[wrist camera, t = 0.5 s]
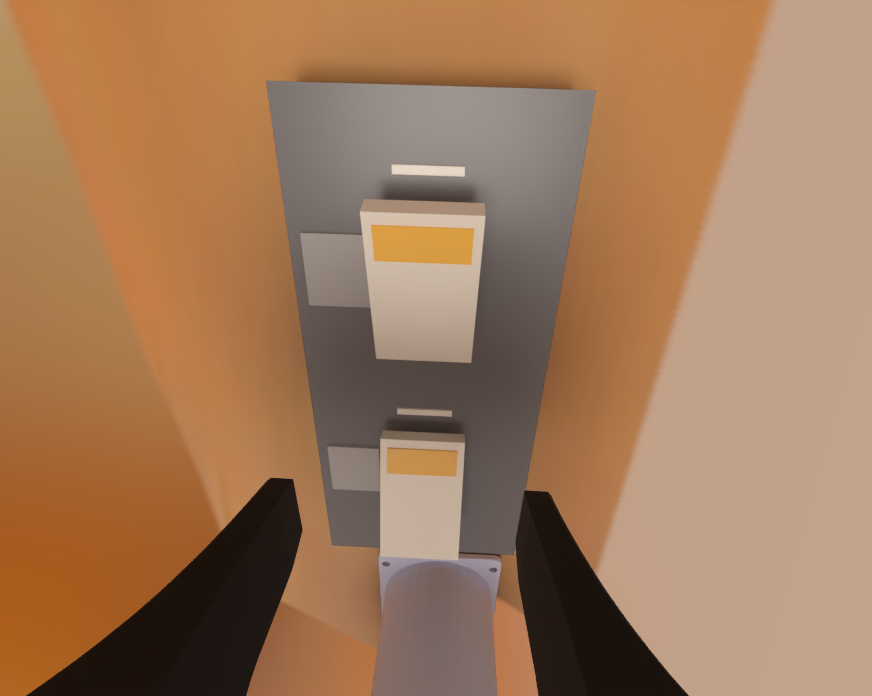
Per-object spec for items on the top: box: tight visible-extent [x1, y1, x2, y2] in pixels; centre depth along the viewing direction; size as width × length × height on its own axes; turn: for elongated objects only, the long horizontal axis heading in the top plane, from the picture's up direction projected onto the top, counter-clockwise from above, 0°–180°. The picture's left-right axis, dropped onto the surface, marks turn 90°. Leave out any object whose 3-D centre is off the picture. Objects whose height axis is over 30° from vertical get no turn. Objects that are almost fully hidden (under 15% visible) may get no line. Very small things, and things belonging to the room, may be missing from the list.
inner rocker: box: [380, 430, 465, 561], centre depth 20 cm, size 6×4×1 cm, turn 179°
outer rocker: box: [360, 199, 486, 363], centre depth 15 cm, size 6×4×1 cm, turn 178°
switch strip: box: [266, 81, 596, 555], centre depth 20 cm, size 22×10×3 cm, turn 179°
